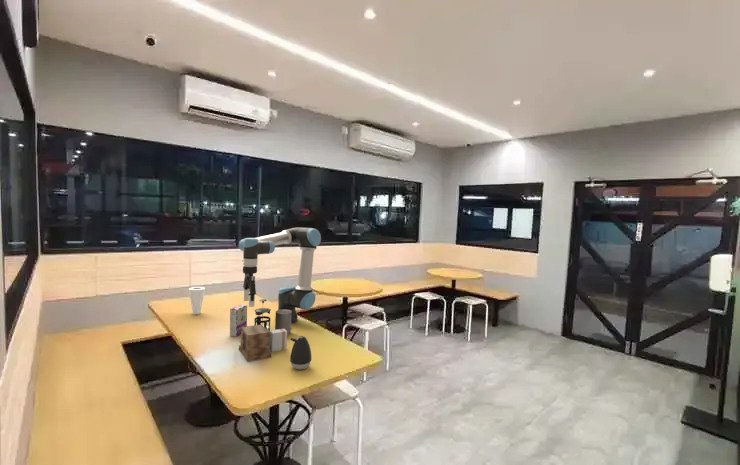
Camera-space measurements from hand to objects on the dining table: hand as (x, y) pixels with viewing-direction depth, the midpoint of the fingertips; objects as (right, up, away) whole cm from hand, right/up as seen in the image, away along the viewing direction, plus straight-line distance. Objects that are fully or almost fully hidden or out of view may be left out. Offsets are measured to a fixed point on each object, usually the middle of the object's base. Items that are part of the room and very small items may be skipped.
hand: (248, 303), depth 197 cm
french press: (+4, -23, +11) cm, 25 cm away
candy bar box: (-12, -22, +17) cm, 30 cm away
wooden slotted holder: (+7, -24, -11) cm, 27 cm away
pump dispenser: (+34, -26, -26) cm, 50 cm away
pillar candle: (+14, -23, +21) cm, 34 cm away
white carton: (+17, -24, -4) cm, 30 cm away
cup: (-55, -18, +53) cm, 79 cm away
